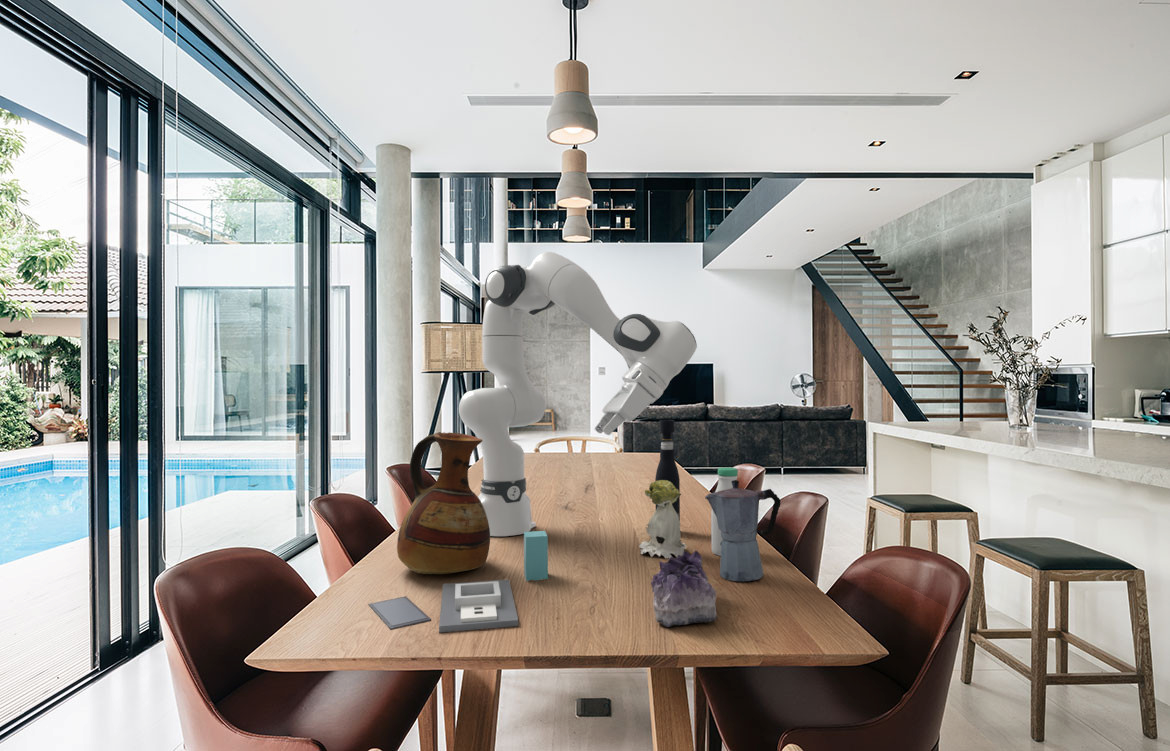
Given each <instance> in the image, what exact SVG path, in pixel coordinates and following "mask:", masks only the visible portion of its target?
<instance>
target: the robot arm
mask: <svg viewBox="0 0 1170 751" xmlns="http://www.w3.org/2000/svg"><path fill="white" fill-rule="evenodd" d="M484 292H485V295H486V298H487V300H488V301H487V302H486V303H485V306H484V312H483V318H482V327H481V328H482V331H481V332H482V333H481V336H482V337H481V338H482V339H481V341H482V342H481V343H482V344H481V345H482V347H481V348H482V352H481V353H482V364H483V366H484V369H486V370H487V371H488V372H490V373H492V374H493V375H494V376H495V378H496V379H497V382H498V387H482V388H477V389H473V390H469V391H467V392H465V393H464V394H463V395H462V397H461V398H460V401H459V404H458V405H459V406H458V414H459V417H460V419H461V421H462V423H463V425H465V426H466V427H467V428H469V429H470V430H471V431H472V432H473V433H474V435H475V437H476V438H479V439H482V440H483V441H482V442H481V443H480V444H479V445H480V447H481V452H482V462H483V464H482V466H483V468H482V469H483V478H482V479H481V483H480V494H478V495H477V497H478V498H479V499H480V501H481V503H482V505H483V507H484V509H485V512H486V515H487V519H488V524H489V528H490V537H509V536H510V537H511V536H517V535H524V532H531V530H532V529H533V528H535V527H536V521H533V520H532V508H531V498H530V496H528V495H527V493H526V492H527V479H526V477H525V453H524V449H523V448H522V446H521V445H519V444H518V443H517V442H515V441H513V440H512V439H511V437H510V435H509V428H518V427H519V428H520V427H526V426H530V425H533V424H536V423H538V422H540V421H541V420H542V419H543V417H544V415H545V413H546V400H545V398H544V396H543V394H542V393H541V391H540V390H538V389H537V388H536V387H535V386H534V384H533V383H532V382H531V380H530V378H529V376H528V373H527V369H526V365H525V359H524V358H525V356H524V330H523V329H524V327H523V325H524V324H523V323H524V318H525V316H526V315H527V314H530V315H532V316H535V315H537V314H539V313H541V312H543V311H546V310H549V309H551V308H553V307H554V306H555V305H556V306H558V307H559V308H560V309H562V310H563V311H565V312H566V313H568V314H569V315H571V316H572V317H574V318H575V319H576V320H578V321H580V323H583V324H584V325H585V326H587V327H588V328H590V329H591V330H593V331H594V332H595V333H596V334H597V335H598V336H600V337H601V338H602V339H603V340H605V342H607V343H608V344H609V345H610V346H612V348H613V349H615V350H616V351H617V352H618V353H619V354H620V355H621V356H622V357H623V359H624V361H625V363H626V365H627V367H628V370H627V371H626V373H624V374H623V376H621V377H622V378H621V379H622V380H623V382H624V383H623V384H622V385H621V389H620V390H619V391H617V393H616V394H614V396H613V397H611V399H610V400H609V401H608V402H607V403H606V405H604V407H603V408H602V413H603V414H604V415H603V416H602V417H601V418H600V420H599V422H598V423H597V424H596V425H595V427H594V431H595V432H597V434H602V433H604V434H605V435H607V436H610V435H611V434H612V433H613V432H614V431H615V430H616V429H617V428H618V427H619V426H621V425H622V424H623V423H624V422H632V421H634V420H635V419H636V418H637V417H638V416H639V415H640V414H641V413H642V412H644V410H646V408H647V407H649V405H650V404H654V402H656V401H657V400H658V399H659V398H661V396H662V395H663V394H664V391H665V390H666V389H667V388H668V386H669V384H670V381H672V379H673V378H674V377H675V376H677V375H679V374H680V373H681V371H682V370H683V369H684V368H685V367H686V365H687V364H688V363H689V361H690V360H691V358H692V357H693V356H694V354H695V352H696V350H697V348H698V345H697V344H698V343H697V340H696V337H695V334H694V333H693V332H692V331H691V330H690V329H689V327H688V326H686V324H684V323H683V322H681V321H679V320H673V321H672V320H671V321H661V320H656V319H653V318H650V317H648V316H646V315H644V314H641V313H631V314H629V315H626V316H623V318H621V319H620V318H619V317H618V316H617V315H616V314H615V313H614V312H613V310H612V309H611V307H610V306H609V304H608V302H607V300H606V299H605V297H604V295H603V293H602V291H601V289H600V287H599V285H598V284H597V282H596V281H595V280H594V279H593V277H592V276H591V275H590V274H589V273H588V272H587V271H586V270H585V269H584V268H582V267H581V266H580V265H578V264H577V263H575V262H574V261H572V260H570V259H568V258H566V257H564V256H563V255H561V254H558V253H556V252H552V251H546V252H542V253H540V254H539V255H537V256H536V257H535V258H534V260H533V261H532V263H531V265H529V267H522V266H521V265H519V264H512V265H511V264H510V265H500V266H496V267H493V269H491V270H489V273H488V274H487V276H486V277H485V283H484Z"/></svg>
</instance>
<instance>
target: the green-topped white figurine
mask: <svg viewBox="0 0 1170 751" xmlns="http://www.w3.org/2000/svg"><path fill="white" fill-rule="evenodd" d="M643 492H644V494H645V496H646V497H648V498H649V499H650V500H651V503H653V505H656V504H657V505H658V507H657V509H656V508H655V511H654V510H653V511H652V512H653V514H652V516H651V518H650V519H649V521H648V523H647V524H646V527H645V530H646V534H647V535H648V536H649V537H650V540H645V541H642V542H641V543H640V544H639V546H638V547H639V548H640V554H641V555H643V554H646V553H647V552H648V554H649V555H650V557H651V558H652V557H654V555H657V556H658V558H659V557H661V556H663V557H664V559H666V558H667V559H670V558H671V557H672V555H674V556H675V558H677V556H678V554H679V555H681V556H682V554H683V552H684V551H685V549H686V548H687V547H688V545H686V544H685V543H684V542H682V539H681V520H680V521H679V517H678V515H677V513H676V511H675V510H674V508H673V506H672V503H673V502H675V501H676V500H677V498H678V497H680V498H681V495H682V493H679V491H678V489H676V488H675V486H674V485H673V484H672V483H671V482H669V481H667V480H658V481H652V482H651V483H650V484H649V488H648V489H644V490H643ZM652 512H651V513H652Z"/></svg>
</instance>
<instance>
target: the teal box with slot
mask: <svg viewBox="0 0 1170 751" xmlns="http://www.w3.org/2000/svg"><path fill="white" fill-rule="evenodd" d="M548 538H549V537H548V534H547V532H546V531H545V530H538V531H537V530H536V531H534V530H533V531H529V532H524V533H523V575H524V578H525V581H526V582H529V581H530V580H534V581H542V580H541V579H548V580H549V557H548V556H549V554H548V552H549V550H548V549H549V547H548V546H549V543H548V542H549V541H548V540H549V539H548Z"/></svg>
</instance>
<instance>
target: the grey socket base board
mask: <svg viewBox="0 0 1170 751" xmlns="http://www.w3.org/2000/svg"><path fill="white" fill-rule="evenodd" d="M441 592H442V593H441V601H440V611H439V612H440V613H439V625H438V632H439V633H449V632H450V633H451V632H459V631H460V632H461V631H462V632H463V631H471V630H472V631H473V630H486V629H497V628H507V627H509V628H510V627H512V628H513V627H519V617H518V612H517V609H516V608H517V607H516V604H515V600H514V595H513V591H512V587H511V582H510V579H509V578H508V579H494V580H492V579H491V580H481V581H480V580H479V581H465V582H464V581H463V582H450V583H448V582H447V583H442V591H441Z"/></svg>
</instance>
